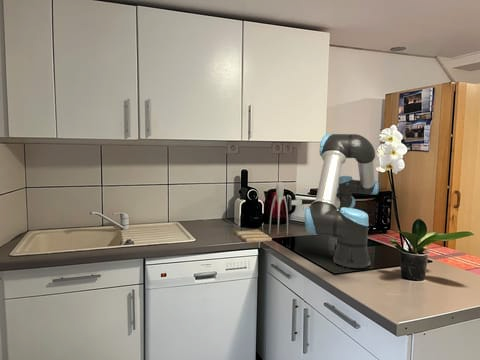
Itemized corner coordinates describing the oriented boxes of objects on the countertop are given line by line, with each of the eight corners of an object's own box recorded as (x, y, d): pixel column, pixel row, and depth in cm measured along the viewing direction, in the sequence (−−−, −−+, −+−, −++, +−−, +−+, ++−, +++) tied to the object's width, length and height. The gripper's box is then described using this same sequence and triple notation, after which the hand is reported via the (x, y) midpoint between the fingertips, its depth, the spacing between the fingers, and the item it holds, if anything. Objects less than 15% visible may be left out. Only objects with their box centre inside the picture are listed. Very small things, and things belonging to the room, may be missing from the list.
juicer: (292, 237, 191) (294, 182, 188) (277, 238, 187) (279, 182, 184) (283, 232, 200) (285, 180, 197) (269, 233, 197) (270, 180, 194)
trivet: (271, 240, 182) (271, 238, 182) (246, 242, 177) (246, 239, 177) (258, 232, 199) (258, 229, 199) (235, 233, 194) (235, 231, 194)
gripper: (342, 213, 191) (308, 215, 184) (317, 205, 215) (286, 207, 207) (343, 200, 190) (309, 201, 183) (318, 193, 214) (287, 194, 207)
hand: (297, 204), depth 195 cm, fingers open, 13 cm apart
